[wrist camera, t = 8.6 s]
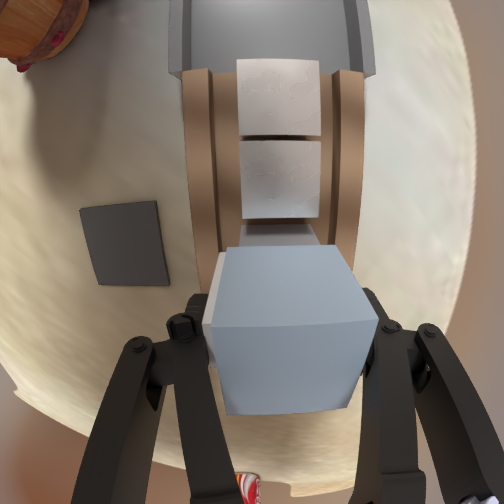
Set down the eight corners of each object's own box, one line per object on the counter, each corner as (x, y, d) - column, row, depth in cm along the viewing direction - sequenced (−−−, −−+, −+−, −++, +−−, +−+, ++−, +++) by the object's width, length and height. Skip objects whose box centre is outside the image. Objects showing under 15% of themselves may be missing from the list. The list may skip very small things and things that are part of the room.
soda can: (238, 468, 41) (236, 518, 30) (267, 474, 43) (267, 521, 32) (220, 475, 43) (217, 520, 33) (248, 480, 45) (247, 523, 34)
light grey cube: (242, 139, 16) (239, 141, 13) (306, 138, 16) (320, 141, 12) (244, 199, 18) (242, 218, 14) (305, 198, 18) (318, 217, 14)
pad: (81, 208, 19) (79, 209, 19) (156, 200, 19) (154, 202, 19) (100, 282, 22) (98, 284, 22) (170, 283, 22) (168, 286, 22)
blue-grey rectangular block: (233, 218, 18) (210, 326, 8) (317, 216, 18) (378, 319, 8) (237, 289, 20) (226, 414, 11) (311, 287, 20) (346, 407, 11)
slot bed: (188, 79, 15) (177, 71, 13) (351, 79, 15) (366, 73, 12) (207, 298, 22) (202, 319, 20) (338, 295, 22) (347, 315, 20)
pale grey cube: (240, 74, 14) (236, 59, 11) (304, 75, 14) (318, 60, 11) (242, 134, 16) (239, 135, 12) (306, 134, 16) (320, 135, 12)
